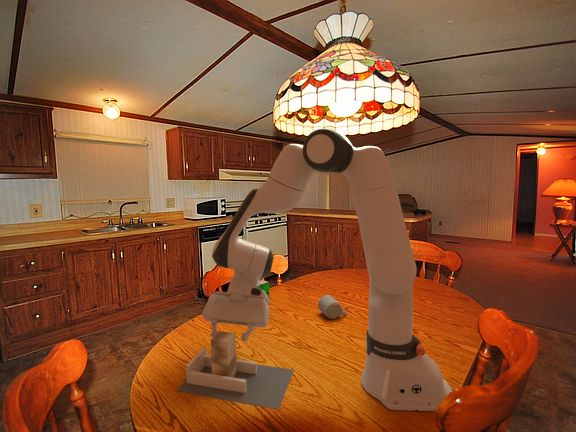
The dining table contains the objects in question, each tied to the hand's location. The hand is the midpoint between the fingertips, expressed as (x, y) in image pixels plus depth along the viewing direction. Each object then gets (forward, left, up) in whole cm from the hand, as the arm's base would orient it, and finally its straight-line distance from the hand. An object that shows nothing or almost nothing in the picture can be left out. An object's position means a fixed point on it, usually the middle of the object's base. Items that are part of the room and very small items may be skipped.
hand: (228, 338), depth 86 cm
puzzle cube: (+11, -50, -10) cm, 52 cm away
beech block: (0, +3, -10) cm, 10 cm away
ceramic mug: (-25, -45, -10) cm, 53 cm away
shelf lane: (-4, +3, -10) cm, 11 cm away
